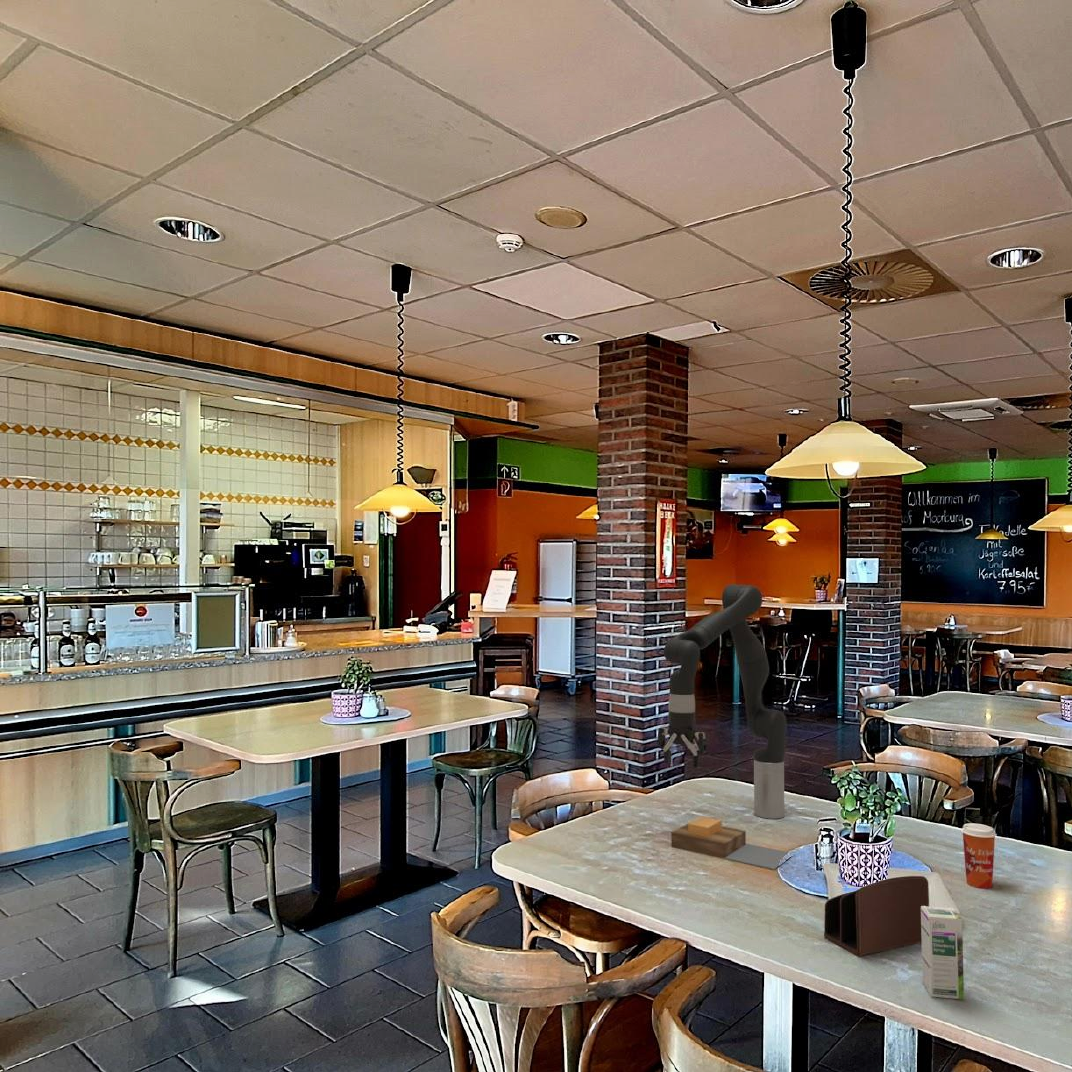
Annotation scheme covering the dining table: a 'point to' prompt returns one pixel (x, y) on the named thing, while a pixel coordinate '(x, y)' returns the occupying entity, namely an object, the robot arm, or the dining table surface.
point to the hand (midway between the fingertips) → (681, 766)
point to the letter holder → (877, 915)
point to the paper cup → (979, 854)
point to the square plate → (935, 884)
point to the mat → (757, 856)
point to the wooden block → (709, 841)
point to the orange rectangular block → (705, 826)
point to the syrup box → (942, 952)
